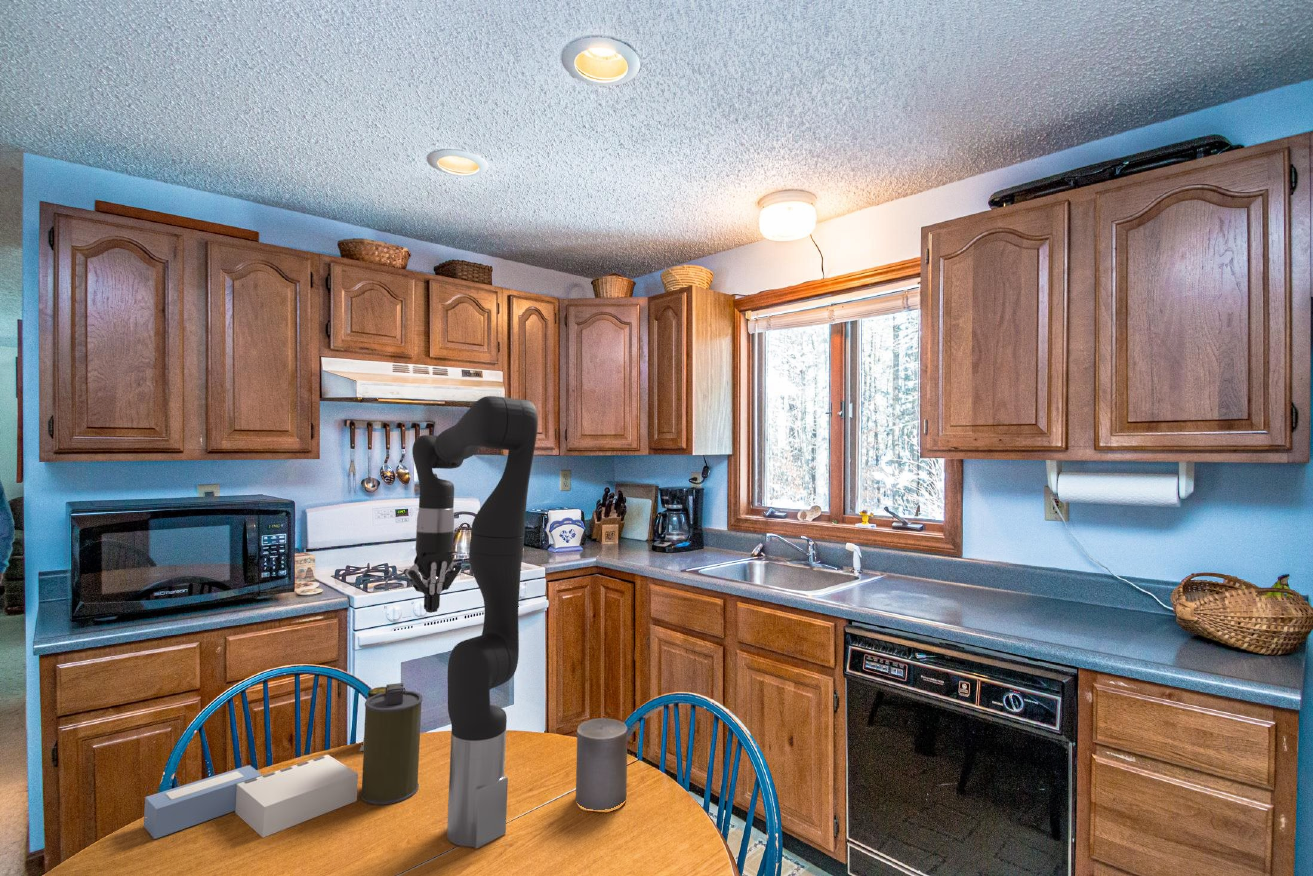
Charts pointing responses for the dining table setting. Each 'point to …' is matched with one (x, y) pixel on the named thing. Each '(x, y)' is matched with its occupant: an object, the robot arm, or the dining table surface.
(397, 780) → the canister
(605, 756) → the pillar candle
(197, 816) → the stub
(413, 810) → the dining table surface
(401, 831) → the dining table surface
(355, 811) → the dining table surface
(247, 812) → the white box
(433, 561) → the robot arm
